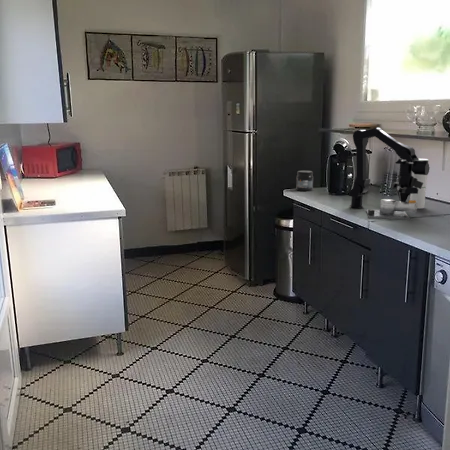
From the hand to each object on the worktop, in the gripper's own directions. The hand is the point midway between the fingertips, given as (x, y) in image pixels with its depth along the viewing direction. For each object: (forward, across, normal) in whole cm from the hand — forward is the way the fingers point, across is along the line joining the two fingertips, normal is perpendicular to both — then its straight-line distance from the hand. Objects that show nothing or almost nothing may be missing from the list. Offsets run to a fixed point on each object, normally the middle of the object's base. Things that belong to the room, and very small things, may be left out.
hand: (402, 205), depth 238 cm
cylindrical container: (+4, +15, -14) cm, 21 cm away
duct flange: (+4, -4, +9) cm, 11 cm away
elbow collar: (+3, -5, +4) cm, 7 cm away
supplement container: (+4, +74, +33) cm, 81 cm away
